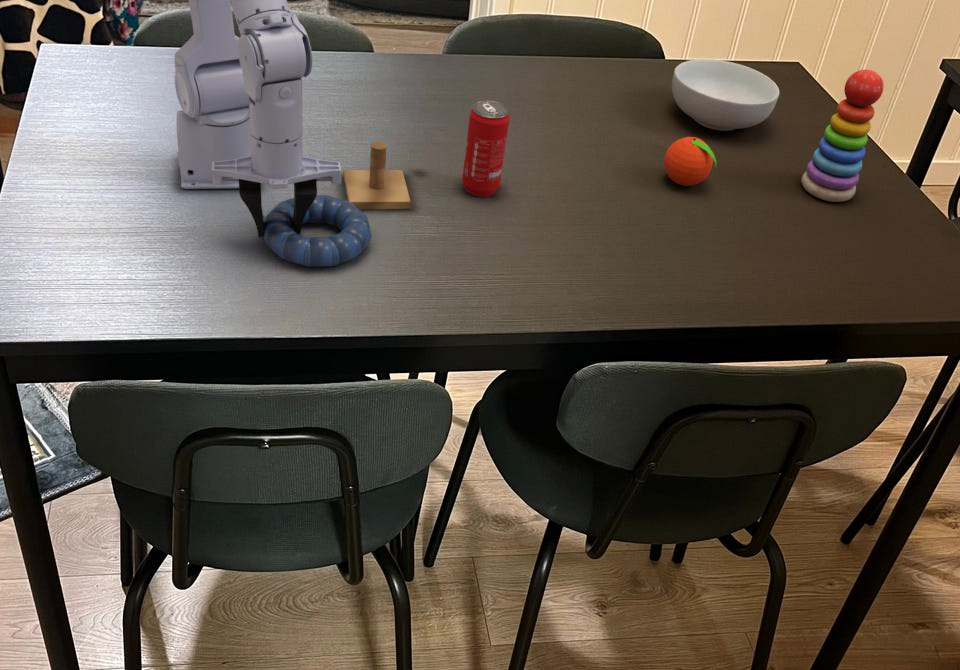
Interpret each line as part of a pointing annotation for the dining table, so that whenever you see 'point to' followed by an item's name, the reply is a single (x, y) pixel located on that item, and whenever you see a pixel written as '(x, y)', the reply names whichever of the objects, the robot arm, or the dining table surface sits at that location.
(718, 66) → the cereal bowl
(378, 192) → the stand
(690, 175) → the clementine
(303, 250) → the ring
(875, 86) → the stacking toy
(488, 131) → the beverage can
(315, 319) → the dining table surface
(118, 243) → the dining table surface
